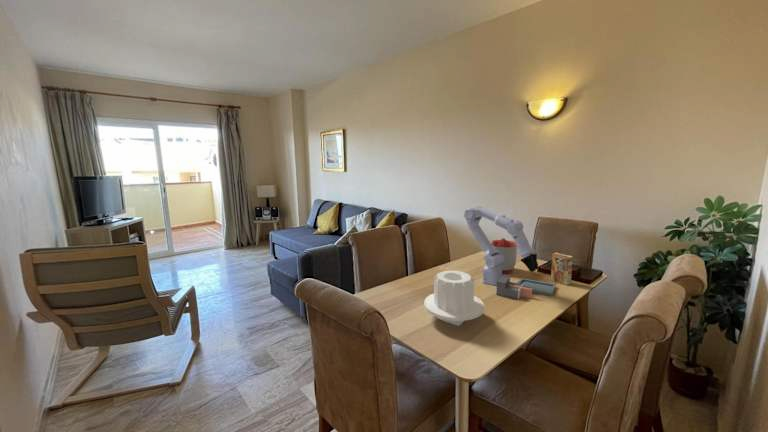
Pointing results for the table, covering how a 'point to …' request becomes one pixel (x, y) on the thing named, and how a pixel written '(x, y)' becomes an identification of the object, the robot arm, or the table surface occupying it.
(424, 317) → the table surface
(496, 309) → the table surface
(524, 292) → the long salmon pink stick
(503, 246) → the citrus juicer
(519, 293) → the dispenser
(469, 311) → the ribbed cylinder on disc
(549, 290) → the tray
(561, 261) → the candy box
